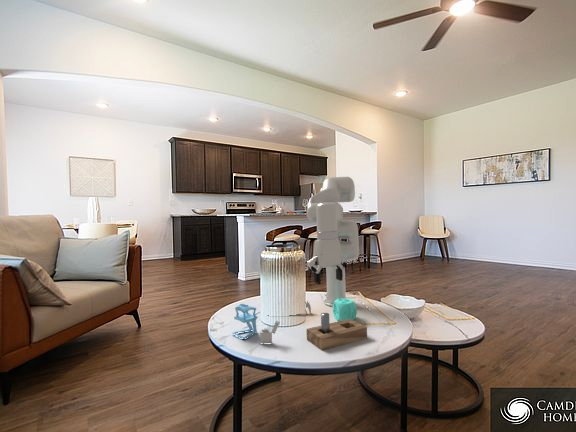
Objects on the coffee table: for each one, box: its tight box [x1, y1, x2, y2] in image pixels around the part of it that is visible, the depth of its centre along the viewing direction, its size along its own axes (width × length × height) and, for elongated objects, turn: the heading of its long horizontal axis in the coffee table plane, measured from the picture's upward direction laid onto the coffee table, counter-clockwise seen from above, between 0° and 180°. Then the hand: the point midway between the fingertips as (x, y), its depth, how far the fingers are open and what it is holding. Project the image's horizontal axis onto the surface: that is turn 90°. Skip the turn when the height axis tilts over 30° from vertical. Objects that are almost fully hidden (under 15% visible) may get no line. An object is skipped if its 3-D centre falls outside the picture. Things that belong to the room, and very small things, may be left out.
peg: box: [320, 312, 330, 334], centre depth 108 cm, size 3×3×10 cm
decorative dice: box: [332, 298, 358, 322], centre depth 131 cm, size 8×8×8 cm
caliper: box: [304, 300, 312, 315], centre depth 139 cm, size 20×1×6 cm, turn 93°
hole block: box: [306, 319, 368, 351], centre depth 111 cm, size 10×20×4 cm, turn 117°
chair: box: [231, 303, 258, 339], centre depth 117 cm, size 8×8×12 cm
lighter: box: [259, 320, 280, 344], centre depth 108 cm, size 7×2×8 cm, turn 87°
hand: (328, 281), depth 112 cm, fingers open, 9 cm apart
